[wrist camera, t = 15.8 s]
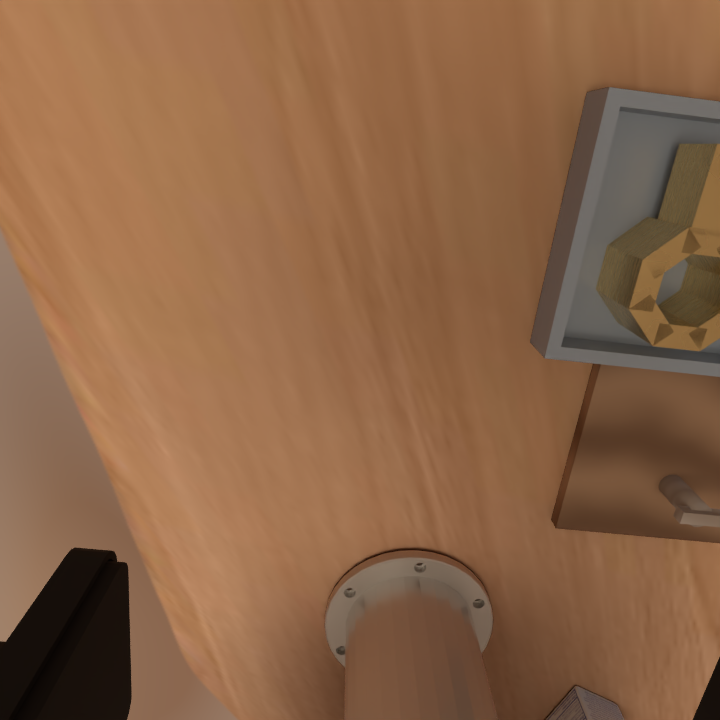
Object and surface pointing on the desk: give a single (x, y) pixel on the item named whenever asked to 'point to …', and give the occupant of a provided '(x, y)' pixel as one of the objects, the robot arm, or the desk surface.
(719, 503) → the board
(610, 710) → the medicine box
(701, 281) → the ring
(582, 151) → the tray
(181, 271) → the desk surface
